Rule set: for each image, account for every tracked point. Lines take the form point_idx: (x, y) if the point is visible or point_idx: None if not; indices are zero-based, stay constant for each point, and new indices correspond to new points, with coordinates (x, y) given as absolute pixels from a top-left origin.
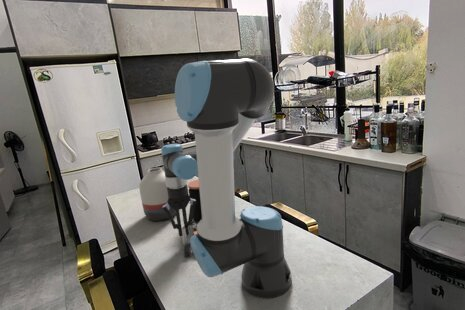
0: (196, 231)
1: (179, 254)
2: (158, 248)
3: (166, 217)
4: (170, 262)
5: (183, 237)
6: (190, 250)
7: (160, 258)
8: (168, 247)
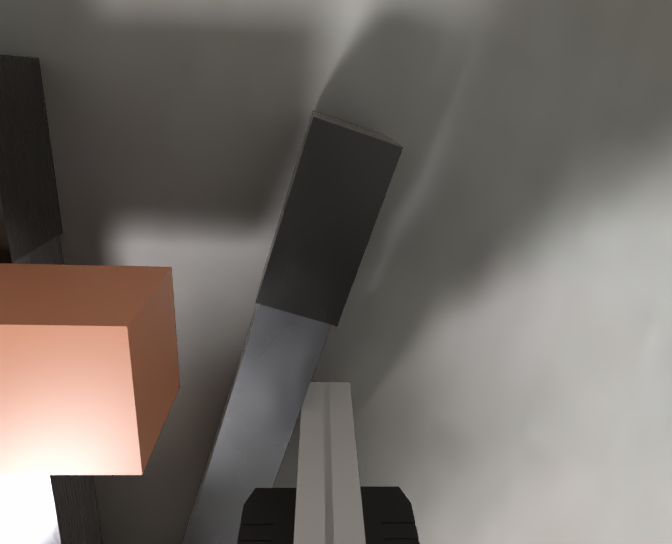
0: (77, 455)
1: (436, 242)
2: (623, 470)
3: None
4: (585, 118)
5: (347, 452)
6: (292, 180)
7: (665, 268)
8: (519, 442)
